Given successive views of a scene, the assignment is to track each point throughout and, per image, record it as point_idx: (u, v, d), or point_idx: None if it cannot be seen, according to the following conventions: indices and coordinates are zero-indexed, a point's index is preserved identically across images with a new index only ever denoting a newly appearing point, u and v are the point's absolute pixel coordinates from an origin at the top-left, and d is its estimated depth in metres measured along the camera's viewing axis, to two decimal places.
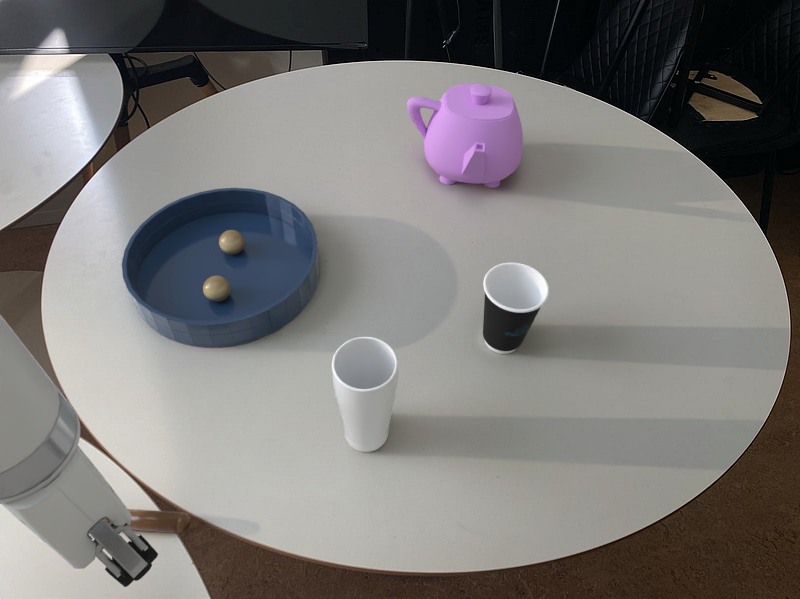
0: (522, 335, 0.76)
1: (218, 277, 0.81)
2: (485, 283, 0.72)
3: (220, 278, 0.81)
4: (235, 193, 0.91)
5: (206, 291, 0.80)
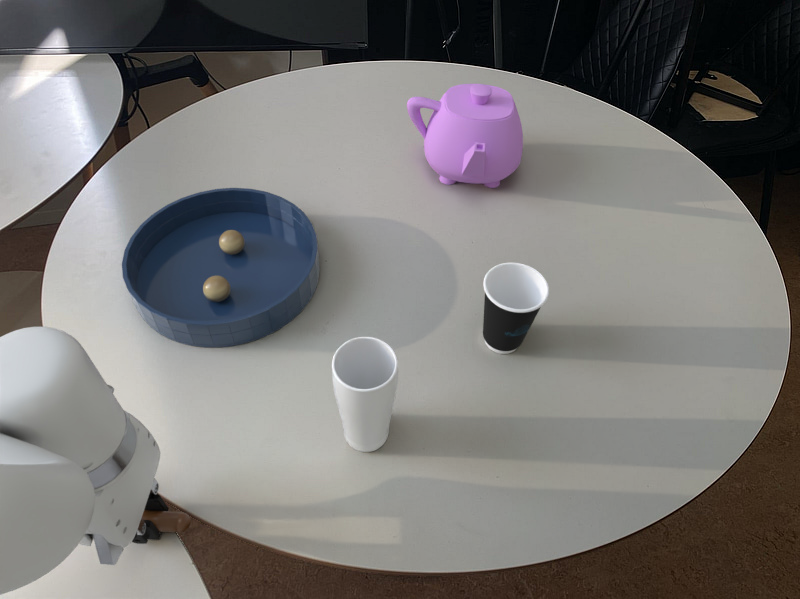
0: (522, 335, 0.76)
1: (218, 277, 0.81)
2: (485, 283, 0.72)
3: (220, 278, 0.81)
4: (235, 193, 0.91)
5: (206, 291, 0.80)
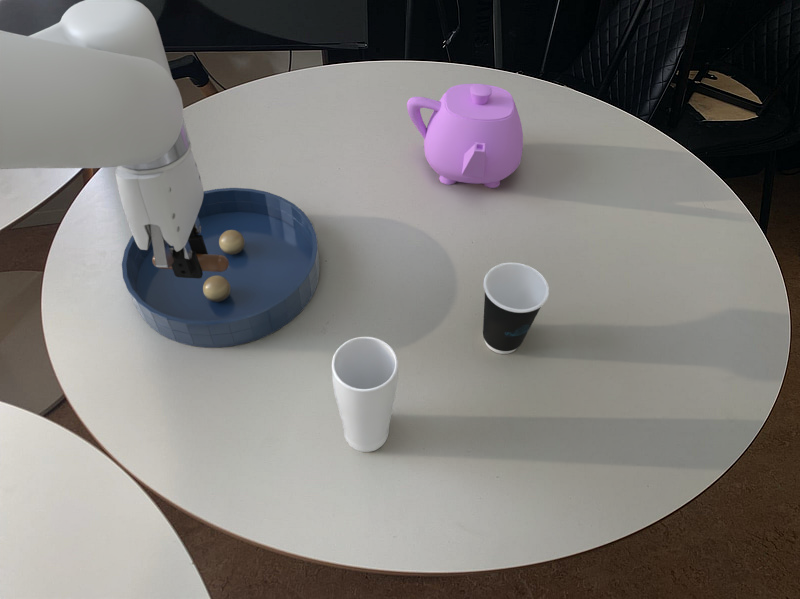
0: (522, 335, 0.76)
1: (218, 277, 0.81)
2: (485, 283, 0.72)
3: (220, 278, 0.81)
4: (235, 193, 0.91)
5: (206, 291, 0.80)
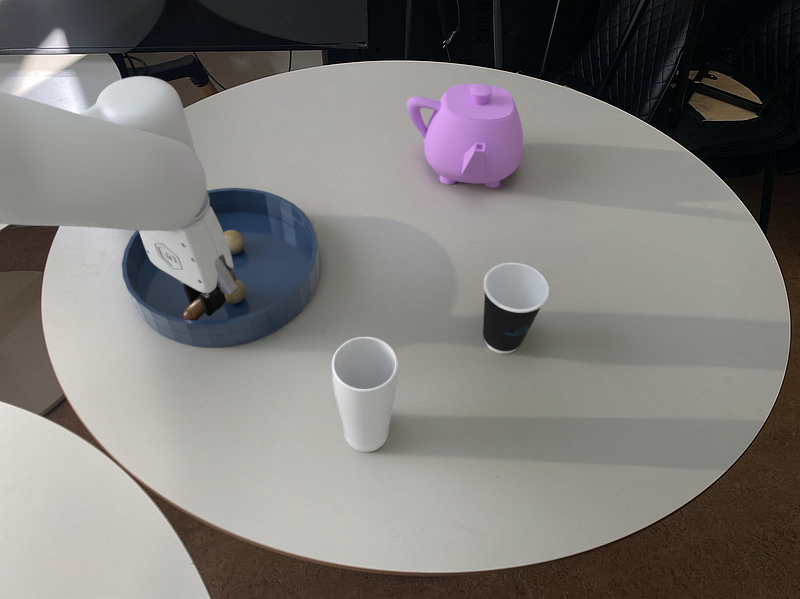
0: (522, 335, 0.76)
1: (244, 286, 0.82)
2: (485, 283, 0.72)
3: None
4: (235, 193, 0.91)
5: (231, 295, 0.80)
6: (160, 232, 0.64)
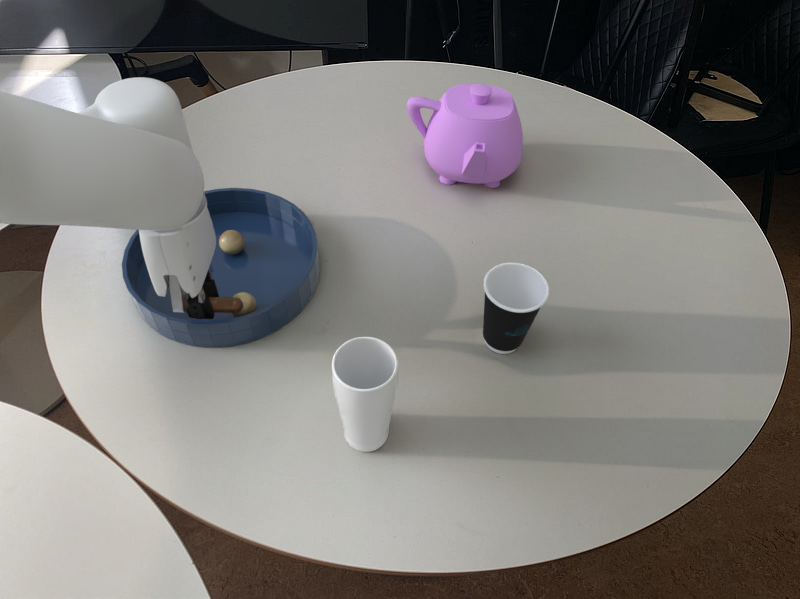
0: (522, 335, 0.76)
1: None
2: (485, 283, 0.72)
3: None
4: (235, 193, 0.91)
5: None
6: None
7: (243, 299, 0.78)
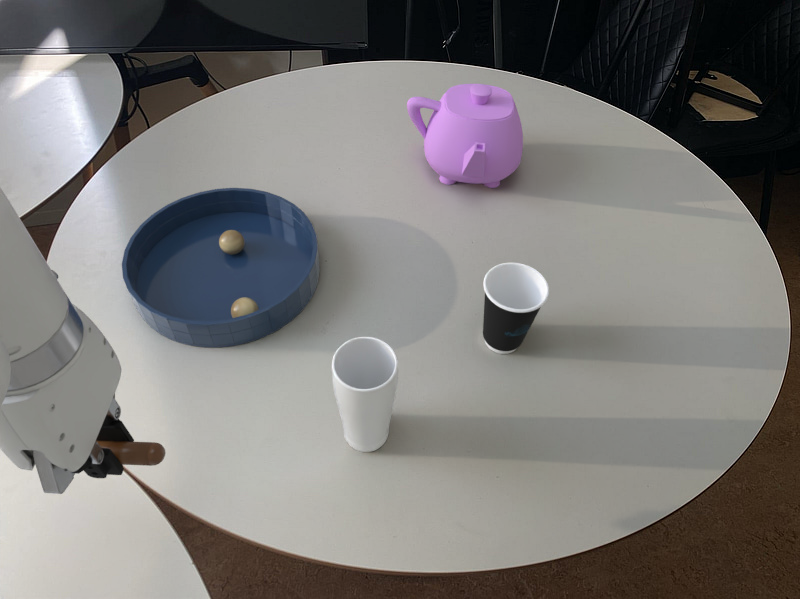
0: (522, 335, 0.76)
1: None
2: (485, 283, 0.72)
3: None
4: (235, 193, 0.91)
5: None
6: None
7: (247, 311, 0.78)
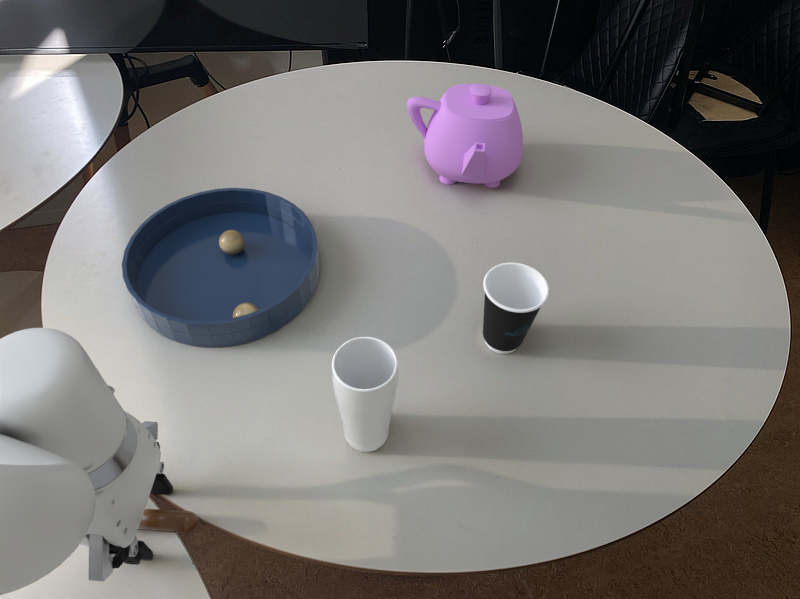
0: (522, 335, 0.76)
1: None
2: (485, 283, 0.72)
3: None
4: (235, 193, 0.91)
5: None
6: None
7: None
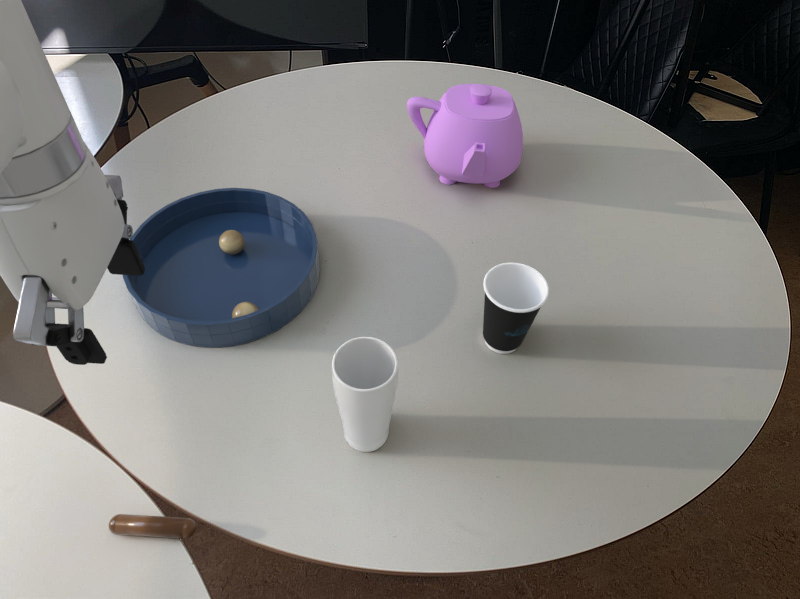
0: (522, 335, 0.76)
1: None
2: (485, 283, 0.72)
3: None
4: (235, 193, 0.91)
5: None
6: None
7: None
